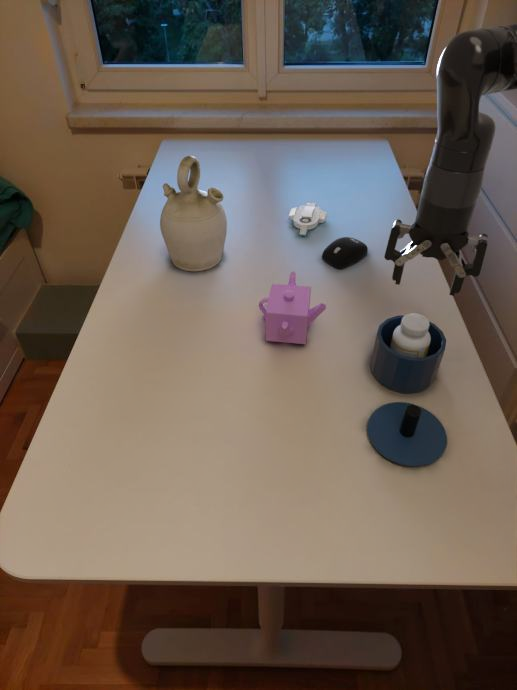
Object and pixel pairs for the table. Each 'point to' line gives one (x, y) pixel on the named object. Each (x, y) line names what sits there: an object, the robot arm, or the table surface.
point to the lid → (407, 434)
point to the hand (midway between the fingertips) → (424, 287)
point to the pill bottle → (411, 336)
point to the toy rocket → (307, 217)
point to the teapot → (289, 312)
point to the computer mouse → (344, 252)
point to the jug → (193, 221)
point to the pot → (405, 360)
